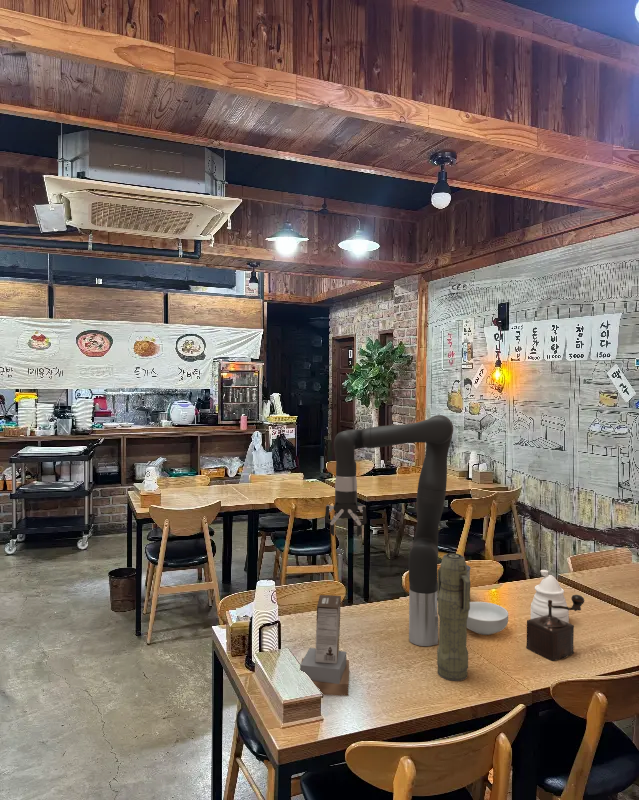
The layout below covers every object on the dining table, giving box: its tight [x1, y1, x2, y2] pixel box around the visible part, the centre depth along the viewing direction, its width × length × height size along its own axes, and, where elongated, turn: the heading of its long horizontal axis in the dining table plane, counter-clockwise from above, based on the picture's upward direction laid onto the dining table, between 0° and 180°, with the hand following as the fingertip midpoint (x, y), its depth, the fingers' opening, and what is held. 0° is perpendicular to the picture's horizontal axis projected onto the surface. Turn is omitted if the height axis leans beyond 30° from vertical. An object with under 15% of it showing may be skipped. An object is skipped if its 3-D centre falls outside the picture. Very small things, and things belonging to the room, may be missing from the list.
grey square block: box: [299, 647, 347, 684], centre depth 165 cm, size 11×11×4 cm
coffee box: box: [315, 594, 342, 664], centre depth 166 cm, size 9×6×16 cm
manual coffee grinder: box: [525, 594, 585, 662], centre depth 187 cm, size 16×11×18 cm
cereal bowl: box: [467, 601, 509, 636], centre depth 202 cm, size 17×17×7 cm
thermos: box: [436, 552, 471, 682], centre depth 171 cm, size 9×12×35 cm
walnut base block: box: [300, 657, 350, 696], centre depth 166 cm, size 14×14×4 cm
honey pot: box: [530, 569, 570, 623], centre depth 210 cm, size 13×13×18 cm
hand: (345, 535), depth 200 cm, fingers open, 8 cm apart
